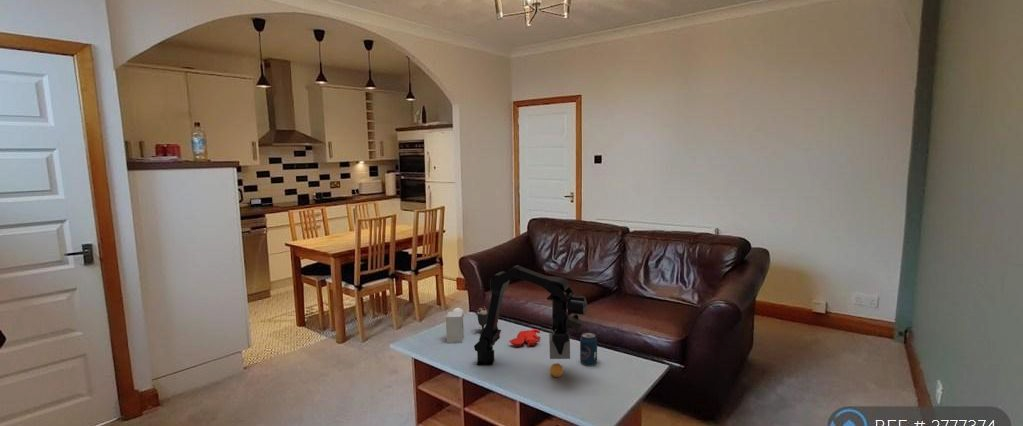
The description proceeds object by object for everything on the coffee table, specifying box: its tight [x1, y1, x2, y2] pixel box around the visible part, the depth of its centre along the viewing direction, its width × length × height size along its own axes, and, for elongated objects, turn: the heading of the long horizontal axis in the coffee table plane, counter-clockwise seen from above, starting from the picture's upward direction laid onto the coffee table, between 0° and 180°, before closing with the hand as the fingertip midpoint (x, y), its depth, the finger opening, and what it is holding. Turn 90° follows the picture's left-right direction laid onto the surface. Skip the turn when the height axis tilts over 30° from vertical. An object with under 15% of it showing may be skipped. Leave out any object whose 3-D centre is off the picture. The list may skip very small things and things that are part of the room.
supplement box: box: [445, 311, 465, 344], centre depth 226 cm, size 7×7×13 cm
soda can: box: [579, 332, 598, 367], centre depth 199 cm, size 7×7×12 cm
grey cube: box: [548, 332, 571, 360], centre depth 187 cm, size 8×8×7 cm
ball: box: [549, 362, 564, 378], centre depth 188 cm, size 5×5×5 cm
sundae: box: [475, 304, 489, 335], centre depth 233 cm, size 7×7×15 cm
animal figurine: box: [508, 328, 541, 348], centre depth 220 cm, size 12×15×5 cm
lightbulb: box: [451, 307, 465, 318], centre depth 239 cm, size 6×6×11 cm
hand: (560, 349), depth 187 cm, fingers closed on grey cube, 8 cm apart
